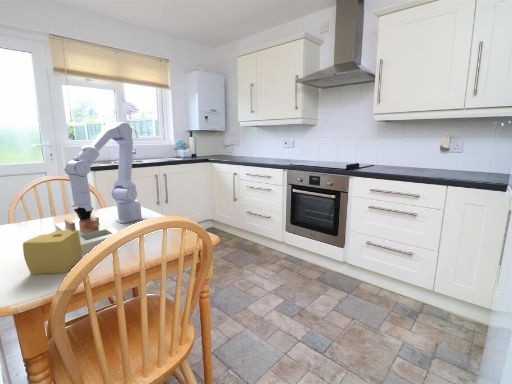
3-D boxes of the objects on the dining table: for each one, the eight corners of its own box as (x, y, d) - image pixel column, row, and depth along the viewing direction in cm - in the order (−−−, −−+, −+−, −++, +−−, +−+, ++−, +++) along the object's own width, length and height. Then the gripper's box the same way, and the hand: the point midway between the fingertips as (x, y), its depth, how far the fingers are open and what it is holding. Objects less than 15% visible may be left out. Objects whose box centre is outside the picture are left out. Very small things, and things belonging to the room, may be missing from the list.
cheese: (50, 259, 90) (44, 230, 88) (85, 258, 91) (80, 228, 89) (27, 276, 80) (20, 243, 78) (66, 273, 81) (61, 241, 79)
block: (94, 227, 111) (92, 217, 110) (98, 230, 108) (97, 220, 107) (80, 230, 108) (78, 220, 107) (84, 233, 104) (82, 223, 104)
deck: (93, 222, 126) (91, 210, 125) (124, 241, 105) (122, 225, 103) (56, 231, 116) (53, 217, 115) (82, 253, 95) (79, 236, 93)
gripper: (63, 191, 110) (68, 224, 112) (74, 196, 100) (80, 232, 103) (83, 188, 115) (88, 219, 118) (96, 193, 105) (101, 227, 108)
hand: (85, 225), depth 111 cm, fingers closed
